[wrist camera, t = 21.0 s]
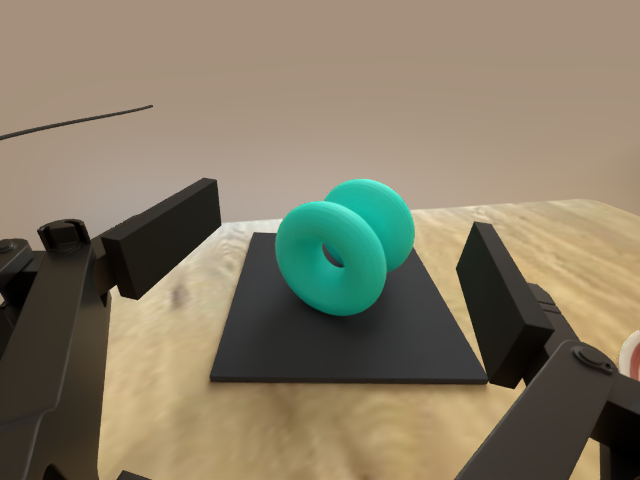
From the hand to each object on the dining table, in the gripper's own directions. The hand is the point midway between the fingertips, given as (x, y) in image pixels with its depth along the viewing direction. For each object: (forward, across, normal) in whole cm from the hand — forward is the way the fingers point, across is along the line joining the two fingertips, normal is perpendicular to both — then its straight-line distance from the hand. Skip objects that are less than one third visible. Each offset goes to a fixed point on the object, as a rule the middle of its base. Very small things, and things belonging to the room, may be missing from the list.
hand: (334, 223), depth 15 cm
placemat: (+10, 0, -12) cm, 16 cm away
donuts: (+10, 0, -12) cm, 15 cm away
